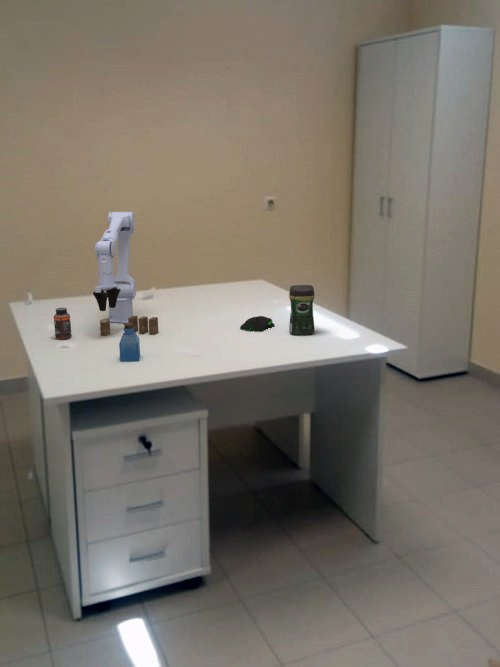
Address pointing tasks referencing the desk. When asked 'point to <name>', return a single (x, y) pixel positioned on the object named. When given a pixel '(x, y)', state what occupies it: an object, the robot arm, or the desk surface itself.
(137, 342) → the perfume bottle
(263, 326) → the computer mouse
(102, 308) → the robot arm
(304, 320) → the coffee jar
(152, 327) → the domino
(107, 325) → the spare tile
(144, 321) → the domino
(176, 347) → the desk surface
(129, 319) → the domino
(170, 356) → the desk surface
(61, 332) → the supplement bottle
